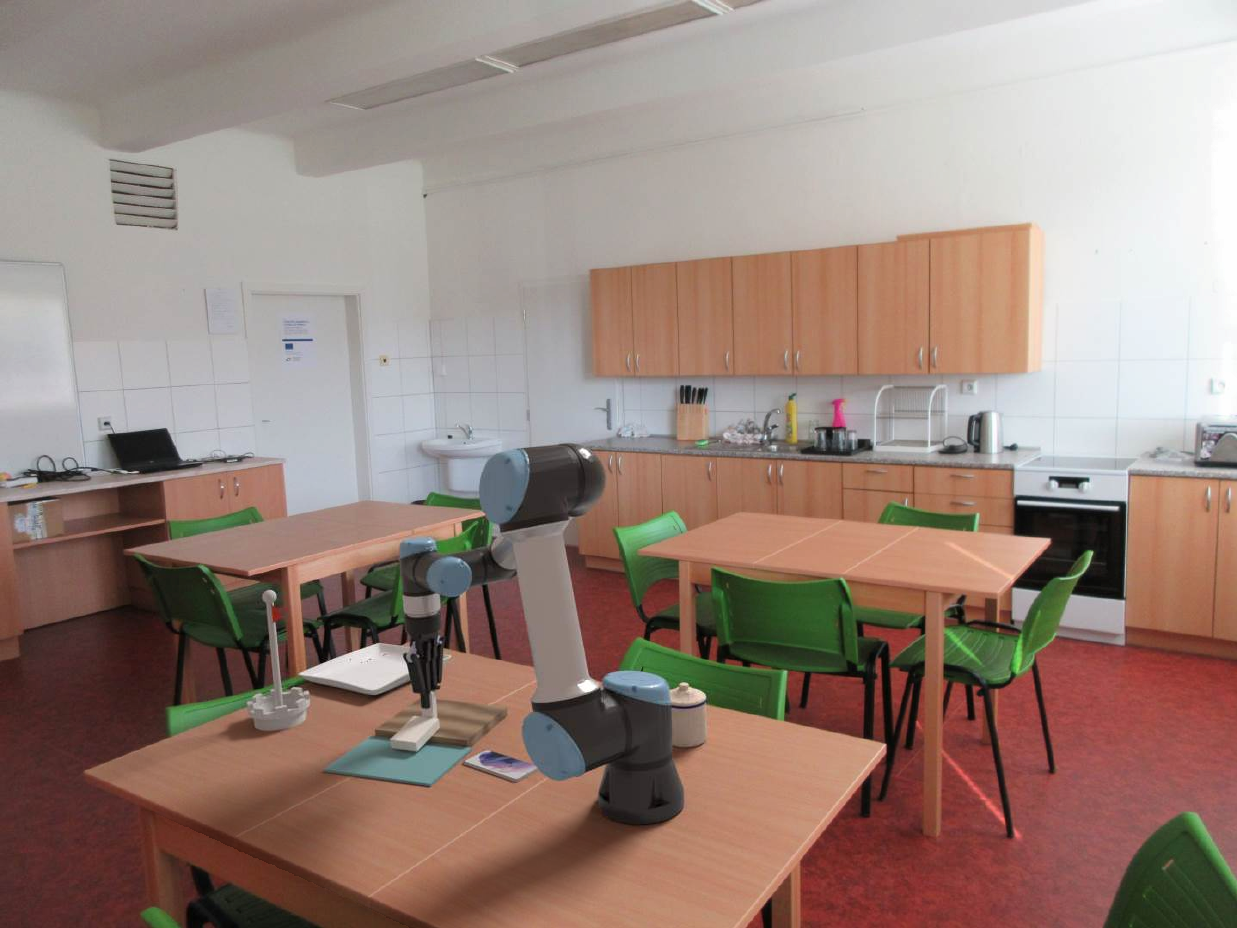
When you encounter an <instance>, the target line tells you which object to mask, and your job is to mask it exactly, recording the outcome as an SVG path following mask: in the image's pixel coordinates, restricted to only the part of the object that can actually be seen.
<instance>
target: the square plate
mask: <svg viewBox="0 0 1237 928" xmlns="http://www.w3.org/2000/svg"><path fill="white" fill-rule="evenodd" d="M409 650H410V646H403V645H402V646H401V645H396V644H390V643H389V644H388V643H382V642H377V643H375V644H372V645H369V646H366V647H363V648H361V649H358V650H355V651H352V652H349V653H346V654H343V655H340V656H338V657H335V658H333V659H330V660H326V661H325V662H323V663H319V664H318V665H315V666H312V667H310V668H308V669H306V670H303V671H302V672H299V673H298V676H301V677H302V678H303V679H304V680H307V681H309V682H311V683H316V684H319V685H325V686H329V687H333V688H339V689H343V690H346V691H347V690H348V691H352V692H355V693H360V694H365V695H369V696H370V695H371V696H377V695H379V694H384V693H386V692H389V691H392V690H394V689H395V688H397V687H400V686H403V685H404V684H406V683H408V682H411V681H410V676H409V672H408V668H407V663H406V662H405V660H404V658H403V654H404V653H408V652H409ZM384 654H386V655H384ZM383 655H384V656H383ZM451 658H452V655H451V654H447V653H446V654H444V653H443V665H442V666H445V665H446V664H447V662H448V661H449V660H450V659H451ZM350 659H351V660H350ZM369 659H371V660H369ZM367 661H368V662H367ZM361 662H362V663H361Z"/></svg>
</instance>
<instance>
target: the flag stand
mask: <svg viewBox="0 0 1237 928" xmlns="http://www.w3.org/2000/svg"><path fill="white" fill-rule="evenodd" d="M261 598H262V601H263V602H264V603H265V605H266V617H267V626H268V637H269V646H270V647H269V649H270V657H271V658H270V659H271V669H272V678H273V679H272V680H273V681H272V682H273V689H270V690H269V692H270V694H269V695H265V696H264V695H263V693H257V694H255V695H253V696H251V701H247V702H246V705H247V714H248V716H249V717H250V718H251V719H253V725H254V728H255V729H256V730H259V731H264V732H273V731H274V732H275V731H282V730H287V729H290V728H293V727H296V726H298V725H300V724H302V723H303V722H304V721H305V720H306V719H307V709H308V708H309V706H310V705H311V700H310V691H309V690H304V691H303V687H295V686H293V687H292V688H290V691H287V692H285V691H283V688H282V680H281V679H282V678H281V671H280V659H279V646H278V638H277V637H278V636H277V627H276V626H277V625H276V622H277V621H278V620H280V619H281V618H283V616H282V615H281V613H280V612H279V611H278V610H277V608H276V607H275V604H274V602H276V600H277V594H276V592H275V591H274V590H272V589H268V590H265V591H264V592H263V594H262V597H261Z"/></svg>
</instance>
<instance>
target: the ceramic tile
mask: <svg viewBox="0 0 1237 928" xmlns="http://www.w3.org/2000/svg"><path fill="white" fill-rule="evenodd" d="M439 728H440V723H439V719H435V718H427V717H418V716H413V717H412V718H411V719H410V720H409V721H408V722H407V723H406V724H405V725H404V726H403V727H402V728H401V729H400V730H399V731H398V732H397V733H396V734H395V735H394V736H393V737H392V738H391V739H390V741H391V747H392V748H395V749H403V750H410V751H418V750H419V749H420V748H421V747H422V746H423V745H424V744H425V743H426V742H427V741H428V740H429V739H430V738H431V736H432V735H433V734H434V733H435V732H436V731H437V730H438V729H439Z"/></svg>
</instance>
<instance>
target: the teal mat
mask: <svg viewBox="0 0 1237 928" xmlns="http://www.w3.org/2000/svg"><path fill="white" fill-rule="evenodd" d="M390 739H391V738H387V737H378V736H375V735H370V736H368V738H366V739H365V740H363V741H361V742H360V743H358V744H356V746H354V747H353V748H352V749H350V750H349V751H348V752H346V753H344V754H343V755H342V756H340V757H339V758H337V759H335V760H334V761H333V762H331V763H330V764H328V765H327V766H326V767H325V768H323V769H322V770H323V772H324V773H330V774H331V773H333V774H340V775H345V776H353V777H360V778H367V779H375V780H380V781H381V780H383V781H388V782H389V781H390V782H396V783H398V782H399V783H404V784H411V785H416V786H417V785H419V786H426V787H432V786H433V785H434V784H435V783H436V782H437V781H439V780H440V779H441V778H443V777H444V776H445V775H446V774H447V773H448V772H449V771H450V770H451V769H453V768H455V766H456V765H457V764H458V763H460V762H461V760H463V759H464V758H465V757H467V755H468V754H470V753H471V752H472V751H473V747H462V746H454V745H445V744H437V743H428V742H426V743H425V744H424V745H423V746H422V747H421V748H420V749H419V750H418V751H410V750H403V749H395V748H392V747H391V741H390Z"/></svg>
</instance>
